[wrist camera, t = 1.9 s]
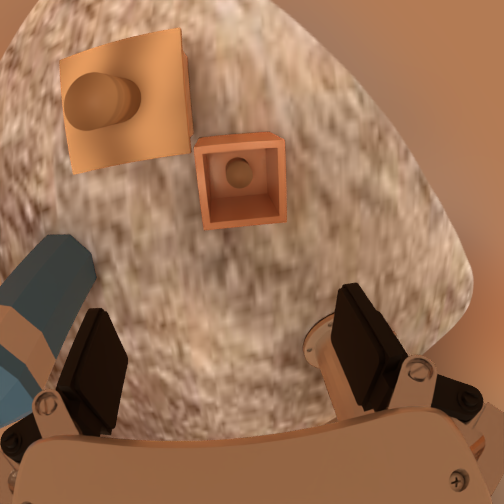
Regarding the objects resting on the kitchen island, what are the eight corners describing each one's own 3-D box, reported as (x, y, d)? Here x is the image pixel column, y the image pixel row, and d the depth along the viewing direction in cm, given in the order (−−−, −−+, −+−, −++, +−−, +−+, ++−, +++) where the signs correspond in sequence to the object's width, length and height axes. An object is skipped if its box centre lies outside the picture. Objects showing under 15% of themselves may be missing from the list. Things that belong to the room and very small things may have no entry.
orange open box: (269, 131, 27) (284, 139, 21) (272, 196, 31) (286, 222, 25) (199, 137, 27) (193, 147, 21) (206, 203, 30) (203, 230, 24)
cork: (248, 156, 28) (252, 161, 25) (250, 179, 29) (253, 187, 26) (224, 158, 28) (225, 164, 25) (226, 181, 29) (227, 189, 26)
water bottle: (92, 304, 35) (31, 472, 13) (36, 279, 32) (-48, 425, 10) (102, 247, 31) (8, 440, 9) (40, 221, 28) (-85, 371, 7)
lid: (181, 30, 15) (168, 4, 10) (191, 151, 19) (181, 168, 14) (64, 61, 14) (21, 54, 9) (77, 172, 18) (39, 196, 13)
